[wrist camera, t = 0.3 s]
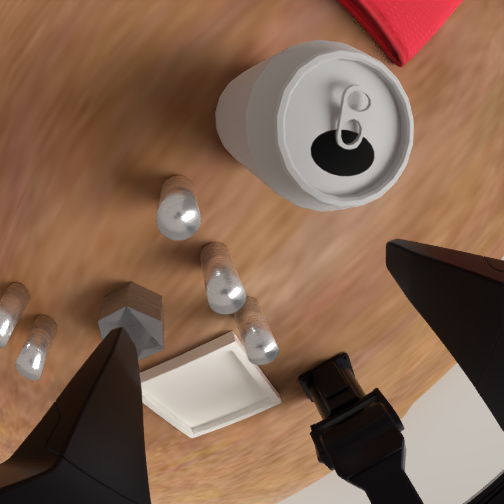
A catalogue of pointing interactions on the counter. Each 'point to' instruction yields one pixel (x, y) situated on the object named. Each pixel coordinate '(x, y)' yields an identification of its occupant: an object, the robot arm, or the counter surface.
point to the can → (319, 125)
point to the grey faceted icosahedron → (135, 317)
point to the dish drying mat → (401, 23)
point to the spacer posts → (215, 277)
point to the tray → (208, 387)
